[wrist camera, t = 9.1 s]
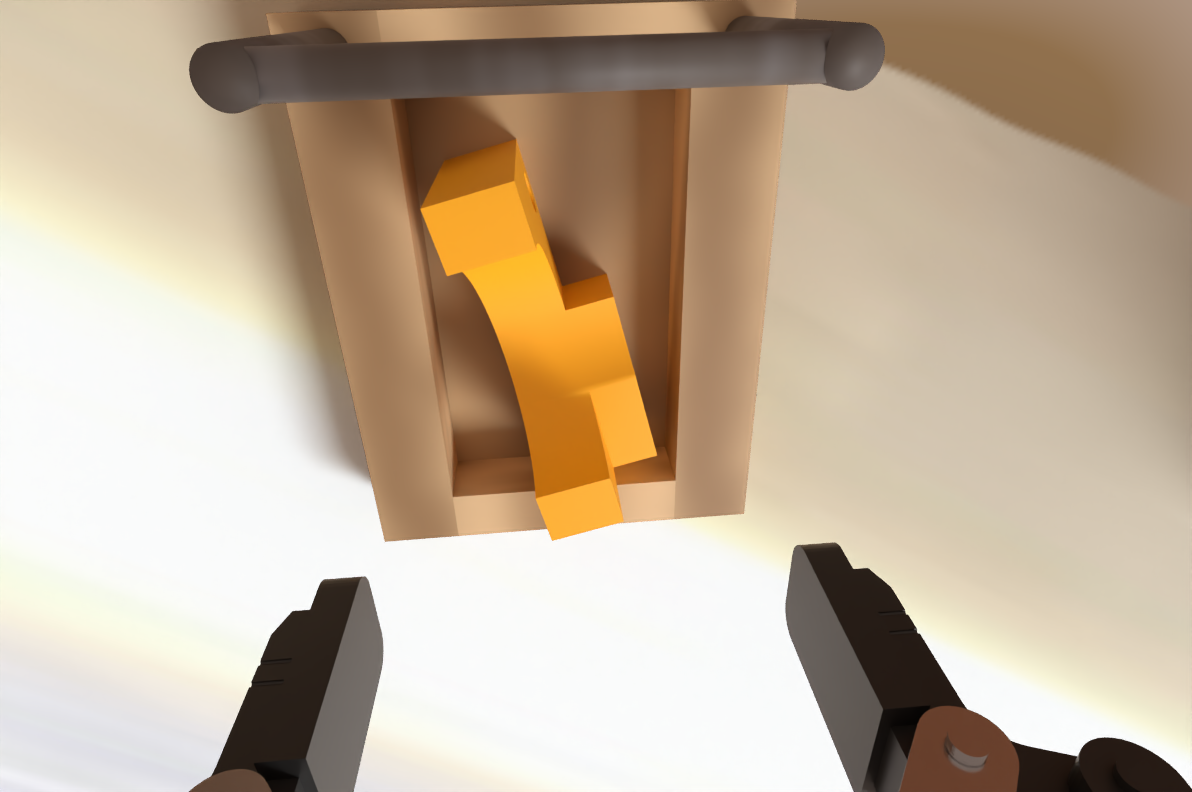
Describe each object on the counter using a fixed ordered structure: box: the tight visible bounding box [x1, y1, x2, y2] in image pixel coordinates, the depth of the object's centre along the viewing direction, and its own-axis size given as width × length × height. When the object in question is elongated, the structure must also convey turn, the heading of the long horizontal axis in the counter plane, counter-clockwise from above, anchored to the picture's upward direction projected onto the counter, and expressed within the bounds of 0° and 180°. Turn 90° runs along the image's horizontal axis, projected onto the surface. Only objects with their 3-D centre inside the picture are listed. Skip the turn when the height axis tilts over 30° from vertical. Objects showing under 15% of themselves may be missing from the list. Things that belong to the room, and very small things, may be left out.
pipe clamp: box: [420, 139, 657, 541], centre depth 24 cm, size 12×4×6 cm, turn 15°
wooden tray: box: [189, 0, 885, 542], centre depth 22 cm, size 15×19×11 cm
